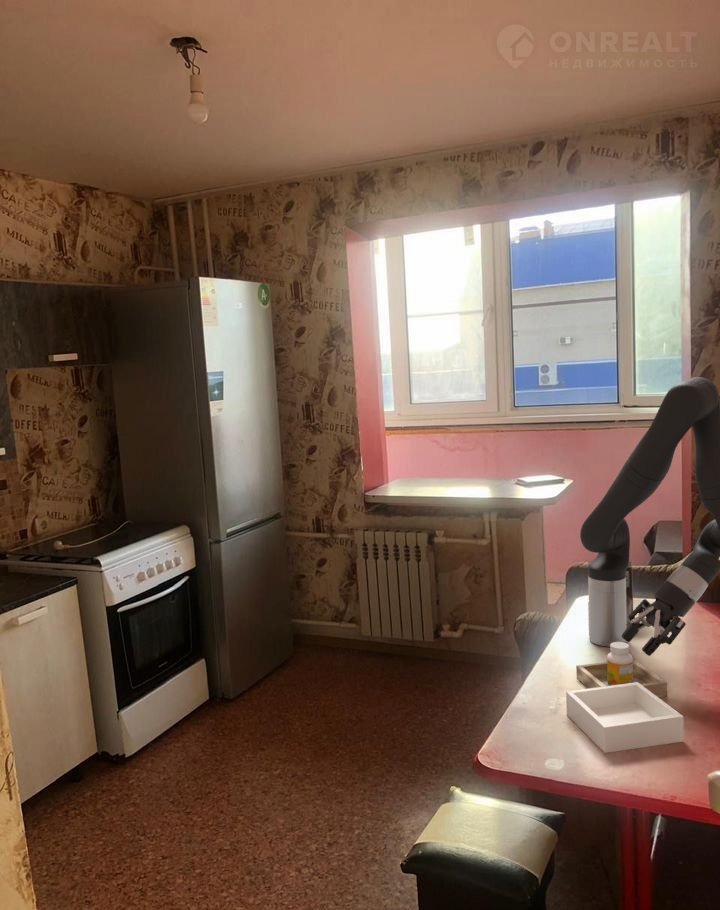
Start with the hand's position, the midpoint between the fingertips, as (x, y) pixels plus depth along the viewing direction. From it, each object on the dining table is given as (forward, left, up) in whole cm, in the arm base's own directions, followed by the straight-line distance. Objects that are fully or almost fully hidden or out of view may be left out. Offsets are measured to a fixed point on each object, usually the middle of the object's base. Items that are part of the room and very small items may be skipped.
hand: (634, 646), depth 163 cm
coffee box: (-40, +17, -9) cm, 45 cm away
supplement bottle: (0, -4, -9) cm, 10 cm away
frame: (0, -4, -9) cm, 10 cm away
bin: (+17, -13, -9) cm, 23 cm away
